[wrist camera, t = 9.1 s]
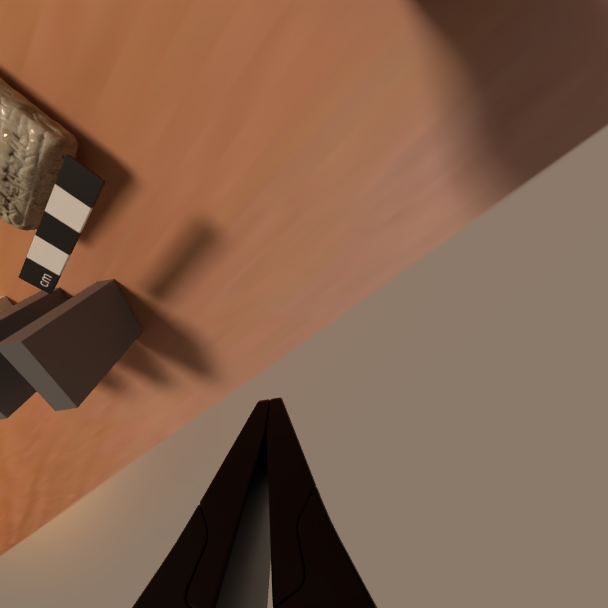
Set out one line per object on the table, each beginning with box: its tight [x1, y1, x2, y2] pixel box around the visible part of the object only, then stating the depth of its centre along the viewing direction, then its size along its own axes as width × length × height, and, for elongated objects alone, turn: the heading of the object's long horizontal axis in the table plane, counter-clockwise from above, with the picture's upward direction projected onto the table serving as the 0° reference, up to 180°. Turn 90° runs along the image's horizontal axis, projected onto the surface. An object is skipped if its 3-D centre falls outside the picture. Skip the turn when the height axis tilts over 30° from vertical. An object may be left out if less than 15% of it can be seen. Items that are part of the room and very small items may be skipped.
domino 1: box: [0, 288, 68, 419], centre depth 15 cm, size 1×4×7 cm, turn 8°
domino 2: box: [0, 279, 143, 411], centre depth 15 cm, size 1×4×7 cm, turn 8°
